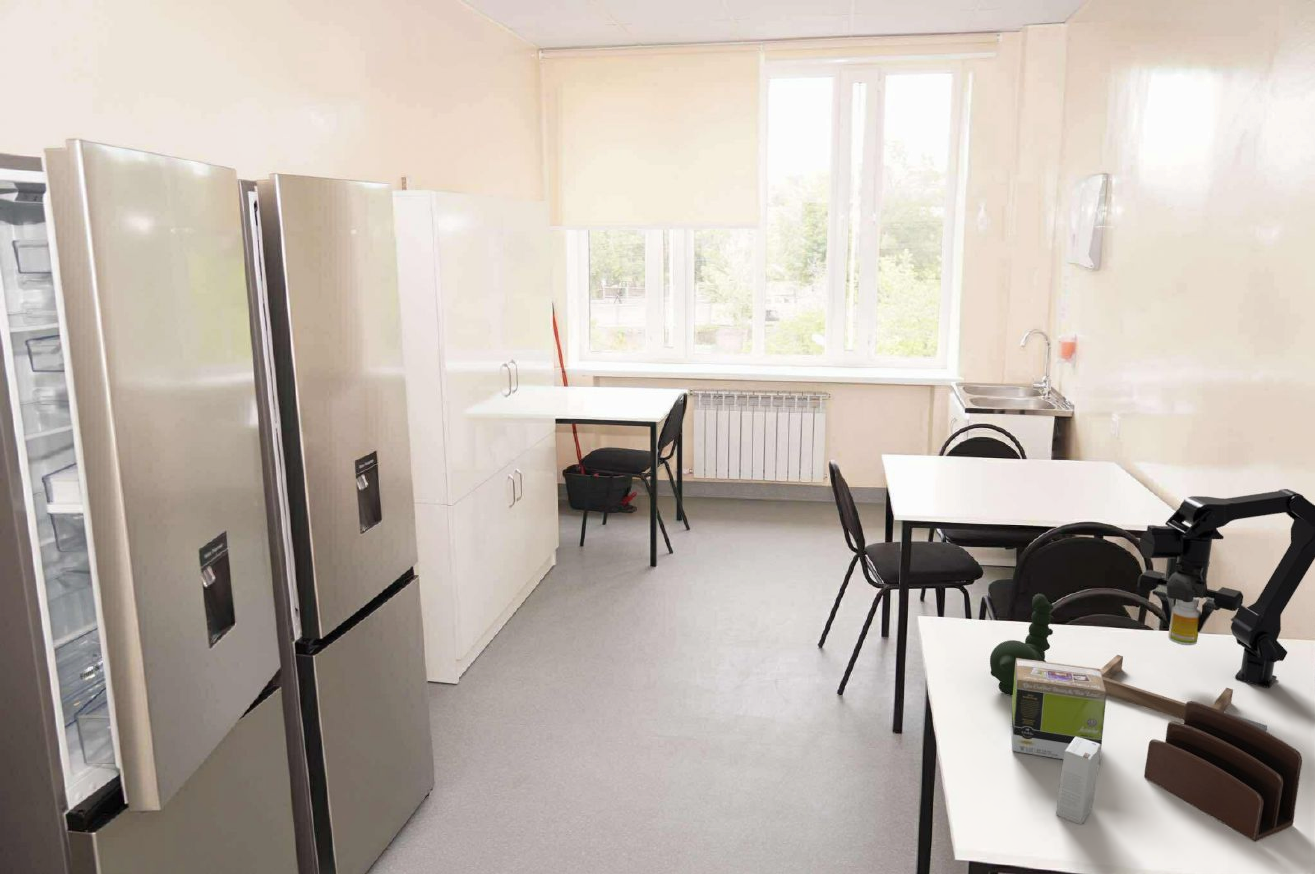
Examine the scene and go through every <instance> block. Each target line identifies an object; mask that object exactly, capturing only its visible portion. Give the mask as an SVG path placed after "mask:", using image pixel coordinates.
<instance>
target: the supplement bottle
mask: <svg viewBox="0 0 1315 874" xmlns="http://www.w3.org/2000/svg"><path fill="white" fill-rule="evenodd" d="M1199 599H1200V598H1199V597H1197V598H1193V601H1192V602H1183V601H1182V600H1178V599H1176V604H1174V606H1173V607H1172V612H1171V620H1170V624H1169V627H1168V629H1169V630H1168V633H1167V634H1168V636H1167V637H1168V639H1169V641H1171V642H1173V643H1176V644H1177V645H1181V646H1195V645H1196V644H1197V643H1198V639H1199V638H1198V637H1199V632H1198V631H1197V630H1198V623H1199V620H1200V616H1201V612H1202V610H1200V608H1198V607H1199V604H1200V603H1199V602H1200V600H1199Z"/></svg>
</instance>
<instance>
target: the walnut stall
mask: <svg viewBox="0 0 1315 874" xmlns="http://www.w3.org/2000/svg"><path fill="white" fill-rule="evenodd" d="M1123 662H1124V656H1123V655H1119V654H1116V655H1115V656H1114V657H1113V658H1112V659H1111V660H1109V661H1108V662H1107V663H1106V664H1105V665H1104V666H1103V667H1102V668H1099V669H1100V672H1101V676H1102V679H1103V683H1104V686H1105V690H1106V696H1107V695H1108V696H1110V697H1114V698H1117V699H1119V700H1122V701H1126V702H1128V703H1131V704H1134V705H1137V706H1140V707H1142V708H1147V709H1149V710H1153V711H1156V712H1159V713H1161V714H1164V715H1168V716H1171V717H1174V718H1176V719H1179V720H1182V721H1184V716H1185V707H1186V703H1187V702H1186V703H1185V702H1182V701H1180V700H1176V699H1173V698H1171V697H1167V696H1164V695H1160V694H1157V693H1154V692H1151V691H1149V690H1145V689H1142V688H1138V687H1135V686H1133V685H1130V684H1126V683H1124V682H1123V683H1122V682H1121V681H1120V682H1119V681H1117V680H1114V679H1113V678H1114V677H1115V676H1116V675H1117V674H1118V673H1119V672H1120V671H1122V668H1123ZM1233 694H1234V689H1232V688H1229V687H1225V689H1224V690H1223V691H1222V693H1220V695H1219V696H1218V698H1216V700H1215V701H1214V702H1213V703H1212V704H1211V706H1210V707H1212V708H1215V709H1217V710H1220V711H1222V712H1225V713H1226V710H1227V709H1228V708H1229V707H1228V706H1230V705H1231V704H1232V701H1233V700H1232V699H1233Z"/></svg>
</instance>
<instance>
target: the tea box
mask: <svg viewBox="0 0 1315 874" xmlns="http://www.w3.org/2000/svg"><path fill="white" fill-rule="evenodd" d="M1100 669H1101V668H1095V667H1090V666H1089V667H1088V666H1081V665H1071V664H1065V663H1058V662H1057V663H1056V662H1050V661H1046V662H1043V661H1035V660H1026V659H1020V658H1016V661H1015V673H1014V687H1013V696H1012V699H1011V701H1012V702H1011V709H1010V711H1011V712H1010V713H1011V714H1010V730H1011V734H1010V735H1011V750H1012V751H1013V752H1017V753H1023V754H1030V755H1034V756H1041V757H1042V756H1043V757H1048V758H1055V759H1061V760H1064V752H1065V750H1066V749H1067V747H1068V746H1069V745H1070V743H1071V742H1072V740H1073V739H1074V738H1075V737H1080V738H1083V739H1086V740H1089V741H1092V742H1096V743H1098V744H1101V747H1102V743H1103V734H1104V733H1103V732H1104V725H1105V724H1104V723H1105V713H1106V704H1107V703H1106V701H1107V694H1106V690H1105V686H1104V683H1103V679H1102V676H1101V672H1100ZM1012 751H1011V752H1012ZM1101 753H1102V750H1101V751H1100V757H1101V756H1102V755H1101ZM1100 763H1101V758H1100V759H1099V765H1100Z"/></svg>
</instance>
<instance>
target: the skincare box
mask: <svg viewBox="0 0 1315 874" xmlns="http://www.w3.org/2000/svg"><path fill="white" fill-rule="evenodd" d="M1100 751H1101V752H1102V746H1101V744H1098V743H1096V742H1092V741H1089V740H1086V739H1083V738H1080V737H1075V738H1074V739H1073V740H1072V742H1071V743H1070V745H1069V746H1068V747H1067V749H1066V750H1065V752H1064V759H1062V761H1063V762H1062V767H1061V774H1060V781H1059V790H1058V796H1057V802H1056V809H1055V815H1057V816H1059V817H1060V818H1063V819H1065V820H1068V821H1070V822H1074V823H1076V824H1079V825H1083V823H1084V821H1085V819H1086V818H1087V816H1088V815H1089V813H1090V812H1091V811H1092V809H1093V806H1094V800H1095V793H1096V788H1097V787H1096V786H1097V779H1098V770H1099V766H1100V764H1099V759H1100V760H1101V756H1100Z"/></svg>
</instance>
